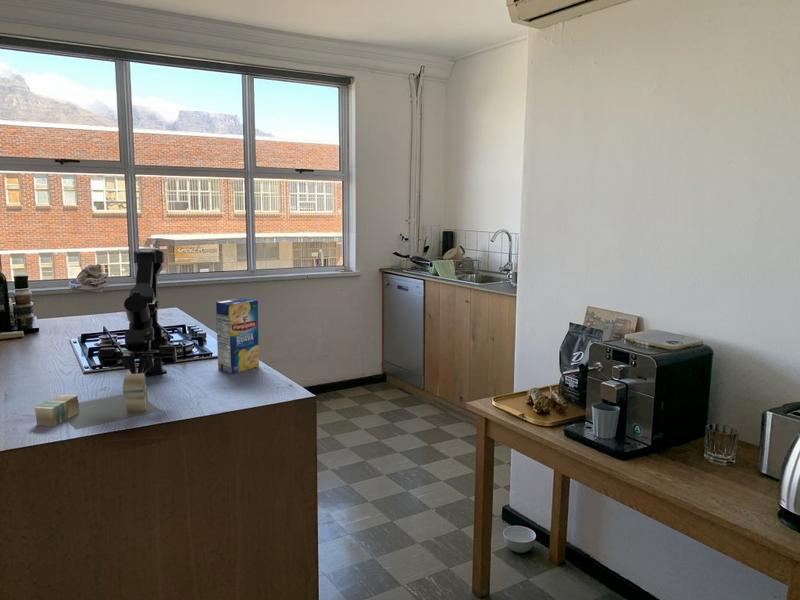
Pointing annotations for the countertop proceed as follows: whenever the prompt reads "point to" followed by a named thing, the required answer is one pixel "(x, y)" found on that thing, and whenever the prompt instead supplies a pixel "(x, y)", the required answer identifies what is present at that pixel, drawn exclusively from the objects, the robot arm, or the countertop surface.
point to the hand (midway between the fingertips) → (136, 384)
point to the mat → (105, 411)
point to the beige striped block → (57, 410)
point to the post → (135, 392)
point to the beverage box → (237, 335)
